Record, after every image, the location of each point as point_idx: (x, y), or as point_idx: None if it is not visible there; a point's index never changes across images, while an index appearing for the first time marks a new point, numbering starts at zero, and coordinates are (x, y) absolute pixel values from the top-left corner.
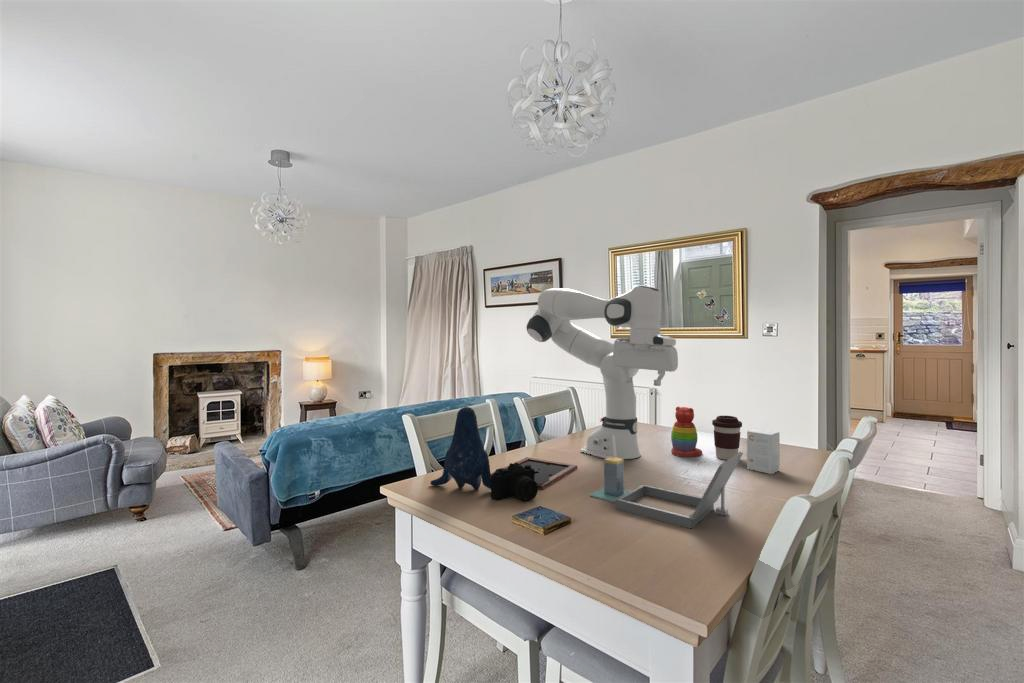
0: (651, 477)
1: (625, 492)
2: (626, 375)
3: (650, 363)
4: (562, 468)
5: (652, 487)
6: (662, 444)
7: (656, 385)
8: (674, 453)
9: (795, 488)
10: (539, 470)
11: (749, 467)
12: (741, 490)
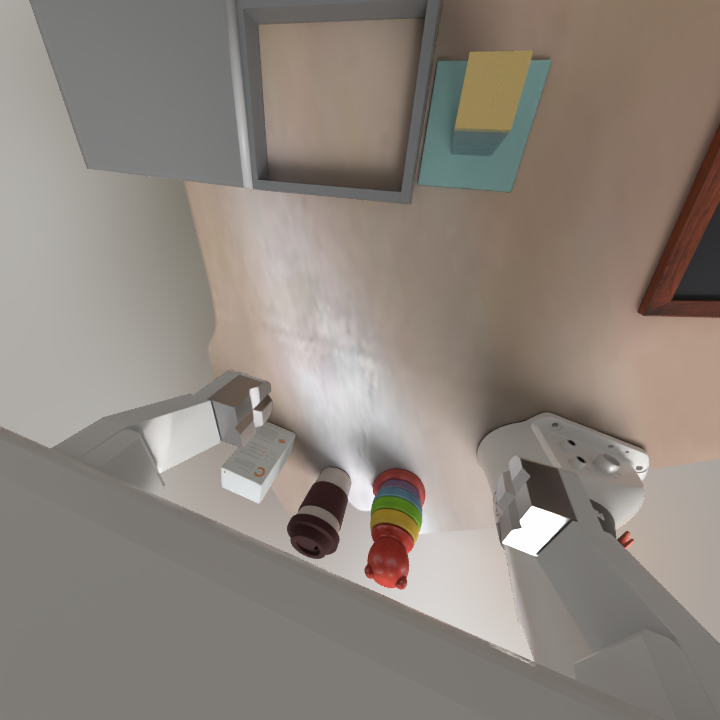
0: (421, 328)
1: (448, 166)
2: (592, 541)
3: (6, 626)
4: (700, 274)
5: (380, 192)
6: (451, 527)
7: (247, 375)
8: (414, 477)
9: (220, 370)
10: None
11: (290, 433)
12: (267, 327)
